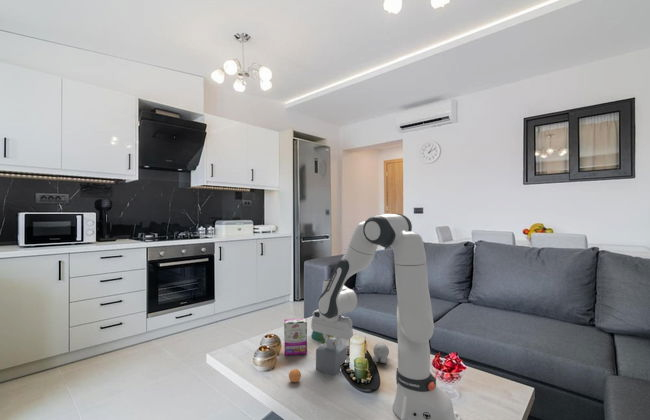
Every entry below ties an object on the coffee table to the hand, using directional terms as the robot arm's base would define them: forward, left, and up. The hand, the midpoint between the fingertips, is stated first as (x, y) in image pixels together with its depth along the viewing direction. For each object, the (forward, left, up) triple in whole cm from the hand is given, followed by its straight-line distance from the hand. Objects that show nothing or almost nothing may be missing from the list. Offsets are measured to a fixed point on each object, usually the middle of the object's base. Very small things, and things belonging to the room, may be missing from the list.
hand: (331, 344), depth 138 cm
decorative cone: (+20, -27, -11) cm, 35 cm away
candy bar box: (+22, -2, -11) cm, 25 cm away
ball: (+7, +18, -8) cm, 21 cm away
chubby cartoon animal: (-17, -18, -11) cm, 27 cm away
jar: (+4, -16, -11) cm, 20 cm away
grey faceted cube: (0, 0, -10) cm, 10 cm away
